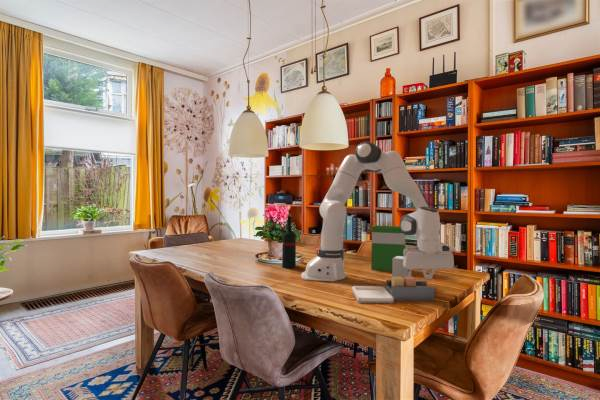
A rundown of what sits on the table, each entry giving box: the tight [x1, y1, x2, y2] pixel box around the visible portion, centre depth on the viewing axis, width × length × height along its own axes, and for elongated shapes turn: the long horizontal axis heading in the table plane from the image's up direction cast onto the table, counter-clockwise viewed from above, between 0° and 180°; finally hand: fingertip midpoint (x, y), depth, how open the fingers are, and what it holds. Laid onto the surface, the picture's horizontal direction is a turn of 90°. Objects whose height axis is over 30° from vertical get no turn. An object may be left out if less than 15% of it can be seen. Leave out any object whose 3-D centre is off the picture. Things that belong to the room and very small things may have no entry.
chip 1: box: [390, 275, 404, 286], centre depth 140 cm, size 4×4×4 cm
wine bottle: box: [281, 213, 297, 269], centre depth 193 cm, size 8×10×30 cm
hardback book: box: [370, 225, 406, 272], centre depth 188 cm, size 18×7×24 cm, turn 75°
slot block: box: [385, 279, 436, 302], centre depth 140 cm, size 17×10×6 cm, turn 90°
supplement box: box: [391, 256, 412, 278], centre depth 159 cm, size 7×7×13 cm
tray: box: [351, 285, 395, 304], centre depth 140 cm, size 14×16×2 cm
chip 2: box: [403, 276, 417, 286], centre depth 140 cm, size 4×4×4 cm
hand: (428, 279), depth 140 cm, fingers closed
